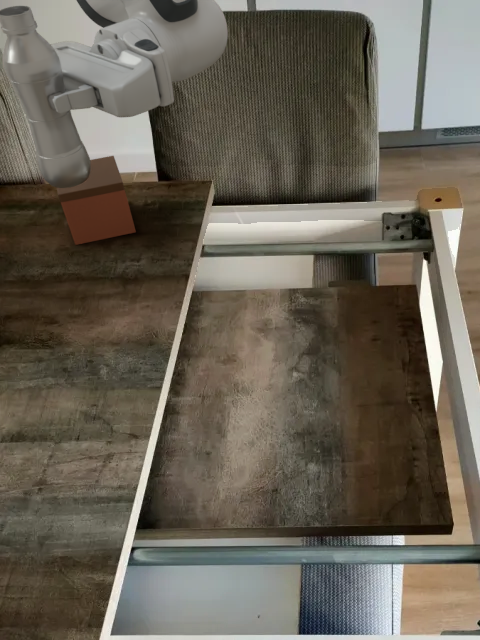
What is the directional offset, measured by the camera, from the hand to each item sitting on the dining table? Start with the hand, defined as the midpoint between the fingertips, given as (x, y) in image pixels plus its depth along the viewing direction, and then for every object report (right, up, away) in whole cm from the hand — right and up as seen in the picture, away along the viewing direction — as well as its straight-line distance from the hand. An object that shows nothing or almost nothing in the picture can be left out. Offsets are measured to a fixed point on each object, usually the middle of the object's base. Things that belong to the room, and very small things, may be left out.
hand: (35, 98), depth 79 cm
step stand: (+1, -8, +22) cm, 24 cm away
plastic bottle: (+1, -7, +9) cm, 11 cm away
